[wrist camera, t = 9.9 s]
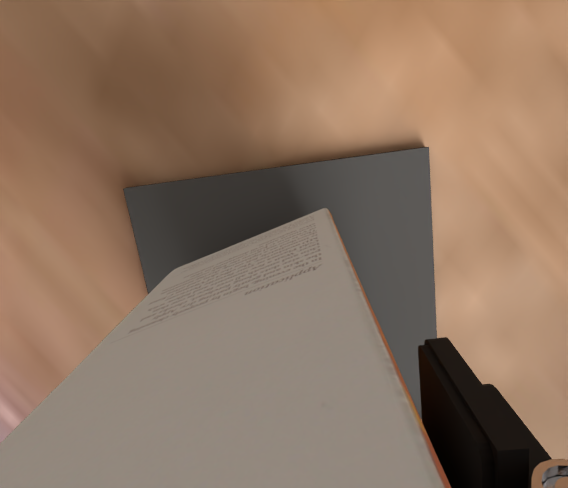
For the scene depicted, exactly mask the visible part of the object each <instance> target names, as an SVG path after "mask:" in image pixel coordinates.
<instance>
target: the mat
mask: <svg viewBox="0 0 568 488" xmlns="http://www.w3.org/2000/svg"><path fill="white" fill-rule="evenodd" d="M123 190H124V194H125V198H126V202H127V207H128V211H129V215H130V219H131V223H132V228H133V232H134V236H135V240H136V244H137V248H138V253H139V257H140V261H141V265H142V269H143V274H144V278H145V282H146V286H147V290H148V294H149V293H150V292H151V291H152V290H153V289H154V288H155V287H156V286H157V285H158V284H159V283H160V282H161V281H162V280H163V279H164V278H165V277H166V276H167V275H168V274H169V273H170V272H172V271H173V270H174V269H176V268H178V267H181V266H183V265H186V264H188V263H191V262H193V261H195V260H198V259H200V258H203V257H205V256H208V255H210V254H213V253H215V252H218V251H220V250H223V249H225V248H228V247H230V246H232V245H235V244H237V243H240V242H242V241H245V240H247V239H250V238H252V237H254V236H257V235H259V234H262V233H264V232H267V231H269V230H272V229H274V228H276V227H279V226H281V225H284V224H286V223H289V222H291V221H294V220H296V219H298V218H301V217H303V216H306V215H308V214H311V213H313V212H315V211H318V210H320V209H323V208H327V209H328V210H329V211H330V213H331V215H332V218H333V221H334V223H335V225H336V227H337V230H338V232H339V234H340V237H341V239H342V241H343V244H344V246H345V248H346V251H347V253H348V255H349V258H350V260H351V262H352V264H353V267H354V269H355V271H356V273H357V276H358V278H359V280H360V283H361V285H362V287H363V289H364V292H365V294H366V296H367V298H368V301H369V303H370V305H371V308H372V310H373V312H374V314H375V316H376V318H377V321H378V323H379V325H380V327H381V329H382V332H383V334H384V336H385V339H386V341H387V343H388V345H389V348H390V350H391V352H392V355H393V357H394V359H395V361H396V364H397V366H398V368H399V371H400V373H401V375H402V377H403V380H404V382H405V384H406V387H407V389H408V391H409V393H410V396H411V398H412V400H413V403H414V405H415V407H416V409H417V412H418V414H419V416H420V419H422V413H421V395H420V378H419V360H418V346H419V345H424V342H425V340H426V339H435V338H437V331H436V307H435V283H434V259H433V235H432V211H431V187H430V164H429V147H422V148H415V149H407V150H400V151H393V152H385V153H378V154H371V155H363V156H356V157H349V158H341V159H334V160H327V161H319V162H312V163H305V164H297V165H290V166H283V167H275V168H268V169H261V170H253V171H246V172H239V173H231V174H224V175H217V176H209V177H202V178H195V179H187V180H180V181H173V182H165V183H158V184H151V185H143V186H136V187H129V188H124V189H123Z"/></svg>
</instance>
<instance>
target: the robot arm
mask: <svg viewBox="0 0 568 488" xmlns="http://www.w3.org/2000/svg"><path fill="white" fill-rule="evenodd" d="M418 360H419V378H420V395H421V413H422V423H423V425H424V428H425V430H426V432H427V435H428V437H429V439H430V441H431V444H432V446H433V448H434V450H435V453H436V455H437V457H438V459H439V462H440V464H441V466H442V468H443V470H444V473H445V475H446V477H447V479H448V482H449V484H450V486H451V488H568V460H565V459H551V457H550V456H549V455H548V453H547V452H546V451H545V450H544V448H543V447H542V446H541V445H540V443H539V442H538V441H537V439H536V438H535V437H534V436H533V434H532V433H531V432H530V431H529V429H528V428H527V427H526V425H525V424H524V423H523V422H522V420H521V419H520V418H519V417H518V415H517V414H516V413H515V411H514V410H513V409H512V408H511V406H510V405H509V404H508V403H507V401H506V400H505V399H504V398H503V396H502V395H501V394H500V392H499V391H498V390H497V389H496V388H495V387H494V386H493V385H491V384H483V385H482V384H481V382H480V381H479V380H478V378H477V377H476V375H475V374H474V373H473V371H472V370H471V369H470V367H469V366H468V365H467V363H466V362H465V361H464V359H463V358H462V357H461V355H460V354H459V353H458V351H457V350H456V348H455V347H454V346H453V344H452V343H451V342H450V340H449V339H448V338H446V337H445V338H435V339H426V340H425V342H424V345H419V346H418Z"/></svg>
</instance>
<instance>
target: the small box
mask: <svg viewBox="0 0 568 488" xmlns="http://www.w3.org/2000/svg"><path fill="white" fill-rule="evenodd" d="M0 488H451V486H450V484H449V482H448V479H447V477H446V475H445V473H444V470H443V468H442V466H441V464H440V462H439V459H438V457H437V455H436V453H435V450H434V448H433V446H432V444H431V441H430V439H429V437H428V435H427V432H426V430H425V428H424V425H423V423H422V421H421V419H420V416H419V414H418V412H417V409H416V407H415V405H414V403H413V400H412V398H411V396H410V393H409V391H408V389H407V387H406V384H405V382H404V380H403V377H402V375H401V373H400V371H399V368H398V366H397V364H396V361H395V359H394V357H393V355H392V352H391V350H390V348H389V345H388V343H387V341H386V339H385V336H384V334H383V332H382V329H381V327H380V325H379V323H378V321H377V318H376V316H375V314H374V312H373V310H372V308H371V305H370V303H369V301H368V298H367V296H366V294H365V292H364V289H363V287H362V285H361V283H360V280H359V278H358V276H357V273H356V271H355V269H354V267H353V264H352V262H351V260H350V258H349V255H348V253H347V251H346V248H345V246H344V244H343V241H342V239H341V237H340V234H339V232H338V230H337V227H336V225H335V223H334V221H333V218H332V215H331V213H330V211H329V210H328V209H327V208H323V209H320V210H318V211H315V212H313V213H311V214H308V215H306V216H303V217H301V218H298V219H296V220H294V221H291V222H289V223H286V224H284V225H281V226H279V227H276V228H274V229H272V230H269V231H267V232H264V233H262V234H259V235H257V236H254V237H252V238H250V239H247V240H245V241H242V242H240V243H237V244H235V245H232V246H230V247H228V248H225V249H223V250H220V251H218V252H215V253H213V254H210V255H208V256H205V257H203V258H200V259H198V260H195V261H193V262H191V263H188V264H186V265H183V266H181V267H178V268H176V269H174V270H173V271H172V272H170V273H169V274H168V275H167V276H166V277H165V278H164V279H163V280H162V281H161V282H160V283H159V284H158V285H157V286H156V287H155V288H154V289H153V290H152V291H151V292H150V293H149V294H148V295H147V296H146V297H145V298H144V299H143V300H142V301H141V302H140V303H139V304H138V305H137V306H136V307H135V308H134V309H133V310H132V311H131V312H130V313H129V314H128V315H127V316H126V317H125V318H124V319H123V320H122V321H121V322H120V323H119V324H118V325H117V326H116V327H115V328H114V329H113V330H112V331H111V332H110V333H109V334H108V335H107V336H106V337H105V338H104V339H103V340H102V342H101V343H100V344H99V345H98V346H97V347H96V348H95V349H94V350H93V351H92V352H91V353H90V354H89V355H88V356H87V357H86V358H85V359H84V360H83V361H82V362H81V363H80V364H79V365H78V366H77V367H76V368H75V369H74V370H73V371H72V372H71V373H70V374H69V375H68V376H67V377H66V378H65V379H64V380H63V381H62V383H61V384H60V385H58V386H57V387H56V388H55V389H54V390H53V391H52V392H51V393H50V394H49V395H48V396H47V397H46V398H45V399H44V400H43V401H42V402H41V403H40V404H39V405H38V406H37V407H36V408H35V409H34V410H33V411H32V412H31V413H30V414H29V415H28V416H27V417H26V418H25V419H24V420H23V421H22V422H21V423H20V424H19V425H18V426H17V427H16V428H15V429H14V430H13V431H12V432H11V433H10V434H9V435H8V436H7V437H6V438H5V439H4V440H3V441H2V442H1V443H0Z"/></svg>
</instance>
